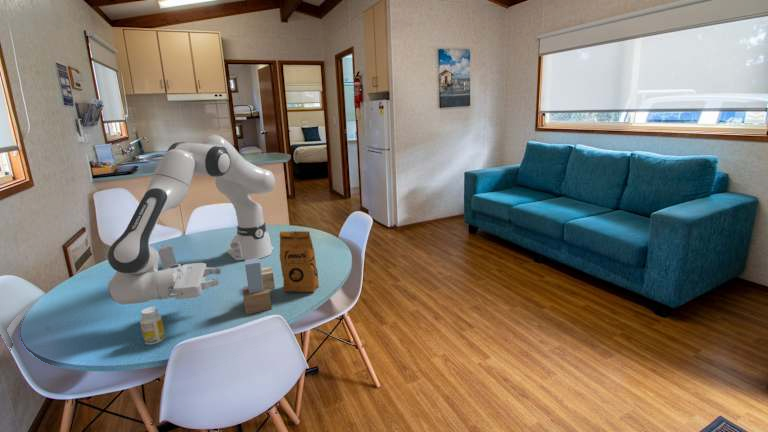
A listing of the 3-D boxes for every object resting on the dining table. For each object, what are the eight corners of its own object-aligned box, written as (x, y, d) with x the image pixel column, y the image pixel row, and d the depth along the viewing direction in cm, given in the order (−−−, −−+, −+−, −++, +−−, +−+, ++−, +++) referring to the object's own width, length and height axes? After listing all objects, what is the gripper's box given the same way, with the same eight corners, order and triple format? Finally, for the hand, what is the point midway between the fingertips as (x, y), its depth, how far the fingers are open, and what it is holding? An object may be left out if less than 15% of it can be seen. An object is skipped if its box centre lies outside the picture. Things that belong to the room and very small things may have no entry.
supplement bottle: (148, 347, 112) (141, 316, 109) (141, 341, 115) (134, 311, 113) (168, 338, 116) (162, 308, 113) (161, 332, 119) (154, 303, 117)
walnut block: (246, 303, 135) (243, 286, 134) (270, 298, 138) (268, 282, 136) (245, 313, 128) (243, 296, 126) (271, 309, 130) (269, 292, 129)
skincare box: (176, 277, 160) (170, 248, 156) (163, 279, 158) (158, 250, 155) (178, 271, 165) (173, 244, 162) (166, 273, 164) (160, 245, 161)
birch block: (256, 284, 149) (254, 269, 148) (272, 281, 151) (270, 266, 150) (257, 291, 144) (255, 275, 142) (274, 287, 146) (272, 272, 145)
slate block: (249, 293, 128) (245, 264, 126) (249, 288, 133) (245, 259, 130) (263, 291, 130) (259, 262, 127) (263, 285, 134) (259, 257, 131)
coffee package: (314, 295, 138) (308, 235, 133) (280, 294, 140) (273, 235, 135) (322, 283, 148) (317, 226, 142) (290, 282, 150) (284, 226, 144)
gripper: (162, 287, 112) (215, 279, 116) (175, 262, 131) (220, 256, 135) (167, 307, 113) (219, 298, 117) (178, 280, 132) (223, 273, 136)
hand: (219, 275), depth 126 cm, fingers open, 8 cm apart
